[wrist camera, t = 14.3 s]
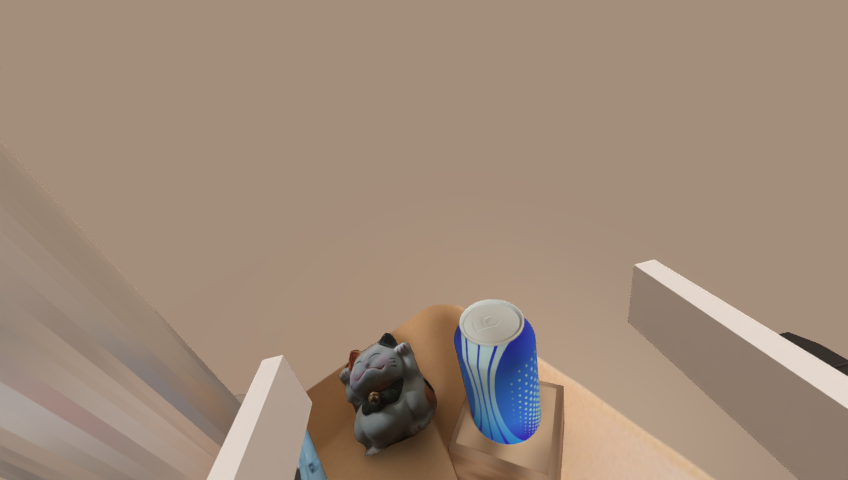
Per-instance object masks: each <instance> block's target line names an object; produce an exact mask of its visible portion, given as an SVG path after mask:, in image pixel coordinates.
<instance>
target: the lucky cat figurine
mask: <svg viewBox="0 0 848 480" xmlns="http://www.w3.org/2000/svg"><path fill="white" fill-rule="evenodd" d="M338 377H339V378H340V380H341V381H342V382H343V384H344V385H345V393H346V396H347V399H348V402H350V403H352V404H353V406H354V408H355V412H356V418H355V423H354V435H355V437H356V439H357V440H358V442H361V443H363V444H364V445H365V447H366V448H367V452H366V454H365V456H372V455H375V454H377V453H379V452H380V451H382V450H383V449H385V448H386V447H388V446H390V445H392V444H395V443H397V442H400V441H403V440H405V439H408V438H411V437H413V436H415V435H416V434H418V433H419V432H420V431H421V430H423V429H425V427H426V426H427V425H428V424H429V422H430V420H431V418H432V416H433V414H434V412H435V409H436V406H437V398H436V395H435V392H434V390H433V388H432V387H431V385H430V384H429V383H428V381H427V380H426V379H425V378H424V377H423V376H422V374H421V372H420V371H419V368H418V365H417V363H416V360H415V358H414V353H413V351H412V349H411V347H410V345H409V343H407V342H404V343H401V344H399V345H397V343H396V340H395V339H394V338H393V336H392V335H391V334H389V333H385V334H384V335H383V337H382V338H381V339H380V341H379V342H378V343H376V344H374V345H371V346H369V347H368V348H367V349H365V350H364V351H362V352H361V351H358V350H353V351H351V352H350V358H349V363H348V364H347V366H346V367H345V368H344V369H343V370H342V372H341V373H340V375H339V376H338Z"/></svg>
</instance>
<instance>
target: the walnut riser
mask: <svg viewBox="0 0 848 480" xmlns="http://www.w3.org/2000/svg"><path fill="white" fill-rule="evenodd" d="M539 392H540V405H541V421H540V424H539V427H538V429H537V431H536V432H535V434H534V435H533V436H532V437H530V438H529V439H528V440H526V441H524V442H522V443H519V444H514V445H504V444H500V443H496V442H494V441H492V440H490V439H488V438H487V437H485V436H484V435H483V434H482V433H481V432H480V431H479V430H478V428H477V427H476V425H475V423H474V421H473V418H472V415H471V410H470V406H469V402H468V398H467V394H466V397H465V400H464V403H463V406H462V409H461V412H460V415H459V417H458V420H457V423H456V426H455V429H454V432H453V435H452V437H451V440H450V443H449V446H448V449H449V452H450V456H451V459H452V462H453V465H454V468H455V471H456V474H457V477H458V480H561V467H562V451H563V435H564V388H563V386H560V385H556V384H551V383H547V382H542V381H539Z"/></svg>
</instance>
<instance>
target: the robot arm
mask: <svg viewBox="0 0 848 480" xmlns="http://www.w3.org/2000/svg"><path fill="white" fill-rule="evenodd" d="M628 322H629V323H630V324H631V325H632V326H633V327H634V328H635V329H636V330H638V331H639V332H640V333H641V334H642V335H643V336H644V337H645V338H646V339H647V340H648V341H649V342H650V343H652V344H653V345H654V346H655V347H656V348H657V349H658V350H659V351H660V352H661V353H662V354H663V355H665V356H666V357H667V358H668V359H669V360H670V361H671V362H672V363H673V364H674V365H675V366H676V367H677V368H679V369H680V370H681V371H682V372H683V373H684V374H685V375H686V376H687V377H688V378H689V379H690V380H692V381H693V382H694V383H695V384H696V385H697V386H698V387H699V388H700V389H701V390H702V391H703V392H705V393H706V394H707V395H708V396H709V397H710V398H711V399H712V400H713V401H714V402H715V403H716V404H717V405H719V406H720V407H721V408H722V409H723V410H724V411H725V412H726V413H727V414H728V415H729V416H730V417H732V418H733V419H734V420H735V421H736V422H737V423H738V424H739V425H740V426H741V427H742V428H744V430H746V431H747V432H748V433H749V434H750V435H751V436H752V437H753V438H754V439H755V440H757V442H759V443H760V444H761V445H762V446H763V447H764V448H765V449H766V450H767V451H768V452H769V453H770V454H771V455H773V456H774V457H775V458H776V459H777V460H778V461H779V462H780V463H781V464H782V465H783V466H784V467H786V468H787V469H788V470H789V471H790V472H791V473H792V474H793V475H794V476H795V477H796V478H797V479H798V480H848V360H847V359H845V358H843V357H842V356H839V355H838V354H836V353H834V352H832V351H831V350H829V349H827V348H826V347H824V346H822V345H820V344H818V343H816V342H813V341H810V340H808V339H805V338H802V337H800V336H797V335H794V334H791V333H789V332H787V333H782V334H777V333H775V332H773V331H772V330H770V329H768V328H767V327H765V326H764V325H762V324H760V323H759V322H757V321H755V320H754V319H752V318H750V317H748V316H747V315H745V314H744V313H742V312H740V311H739V310H737V309H735V308H734V307H732V306H730V305H729V304H727V303H725V302H724V301H722V300H720V299H719V298H717V297H715V296H714V295H712V294H710V293H709V292H707V291H706V290H704V289H702V288H701V287H698V286H697V285H696V284H694V283H692V282H690V281H689V280H687V279H686V278H684V277H682V276H681V275H679V274H677V273H676V272H674V271H672V270H671V269H669V268H667V267H666V266H664V265H662V264H661V263H659V262H657V261H656V260H651V261H647V262H643V263H639V264H635V265H634V269H633V279H632V289H631V298H630V307H629V317H628ZM311 407H312V401H311V400H310V398H309V396H308V395H307V393H306V391H305V390H304V388H303V387H302V385H301V383H300V381H299V380H298V378H297V376H296V375H295V374H294V372H293V370H292V368H291V367H290V365H289V363H288V362H287V360H286V358H285V357H284V355H280V356H276V357H272V358H268V359H265V360H262V363H261V365H260V367H259V369H258V371H257V373H256V376H255V377H254V380H253V382H252V384H251V386H250V388H249V390H248V392H247V394H239V395H233V394H232V393H231V392H230V391H229V390H228V389H227V387H225V385H224V384H223V383H222V382H221V381H220V380H219V379H218V378H217V377H216V375H215V374H214V373H213V372H212V371H211V370H210V369H209V368H208V367H207V366H206V364H205V363H204V362H203V361H202V360H201V359H200V358H199V357H198V356H197V355H196V353H195V352H194V351H193V350H192V349H191V348H190V347H189V346H188V345H187V344H186V343H185V341H184V340H183V339H182V338H181V337H180V336H179V335H178V334H177V333H176V331H175V330H174V329H173V328H172V327H171V326H170V325H169V324H168V323H167V322H166V320H165V319H164V318H163V317H162V316H161V315H160V314H159V313H158V312H157V311H156V310H155V308H154V307H152V305H151V304H150V303H149V302H148V301H147V300H146V298H145V297H144V296H143V295H142V294H141V293H140V292H139V291H138V290H137V289H136V288H135V286H134V285H133V284H132V283H131V282H130V281H129V280H128V279H127V278H126V276H125V275H124V274H123V273H122V272H121V271H120V270H119V269H118V268H117V267H116V265H115V264H114V263H113V262H112V261H111V260H110V259H109V258H108V257H107V256H106V255H105V253H104V252H103V251H102V250H101V249H100V248H99V247H98V246H97V245H96V243H95V242H94V241H93V240H92V239H91V238H90V237H89V236H88V235H87V234H86V232H85V231H84V230H83V229H82V228H81V227H80V226H79V225H78V224H77V223H76V221H75V220H74V219H73V218H72V217H71V216H70V215H69V214H68V213H67V212H66V210H65V209H64V208H63V207H62V206H61V205H60V204H59V203H58V202H57V201H56V199H55V198H54V197H53V196H52V195H51V194H50V193H49V192H48V191H47V190H46V188H45V187H44V186H43V185H42V184H41V183H40V182H39V181H38V180H37V178H36V177H35V176H34V175H33V174H32V173H31V172H30V171H29V170H28V169H27V168H26V167H25V165H24V164H23V163H22V162H21V161H20V160H19V159H18V158H17V157H16V155H15V154H14V153H13V152H12V151H11V150H10V149H9V148H8V147H7V146H6V144H5V143H4V142H3V141H2V140H1V139H0V477H1V478H4V479H7V480H328V479H327V477H326V474H325V472H324V469H323V467H322V464H321V462H320V460H319V458H318V454H317V452H316V450H315V447H314V444H313V442H312V439H311V437H310V435H309V432H308V430H307V424H308V420H309V415H310V411H311Z"/></svg>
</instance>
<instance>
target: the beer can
mask: <svg viewBox="0 0 848 480" xmlns="http://www.w3.org/2000/svg"><path fill="white" fill-rule="evenodd" d="M454 344H455V348H456V353H457V357H458V361H459V365H460V369H461V373H462V377H463V381H464V386H465V390H466V394H467V398H468V402H469V406H470V410H471V415H472V418H473V421H474V423H475V425H476V427H477V428H478V430H479V431H480V432H481V433H482V434H483V435H484V436H485V437H487V438H488V439H490V440H492V441H494V442H496V443H500V444H504V445H514V444H519V443H522V442H524V441H526V440H528V439H529V438H530V437H532V436H533V435H534V434H535V432H536V431H537V429H538V427H539V424H540V421H541V405H540V392H539V379H538V366H537V353H536V340H535V334H534V330H533V329H532V327H531V325H530V323H529V322H528V321H527V320H526V319H525V318H524V317H523V314H522V312H521V311H520V310H519V308H517V307H516V306H515V305H514V304H512V303H510V302H507V301H504V300H498V299H487V300H482V301H478V302H476V303H474V304H472V305H470V306H469V307H467V308H466V309H465V310H464V311H463V313H462V314H461V316H460V319H459V325H458V327H457V329H456V332H455V336H454Z"/></svg>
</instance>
